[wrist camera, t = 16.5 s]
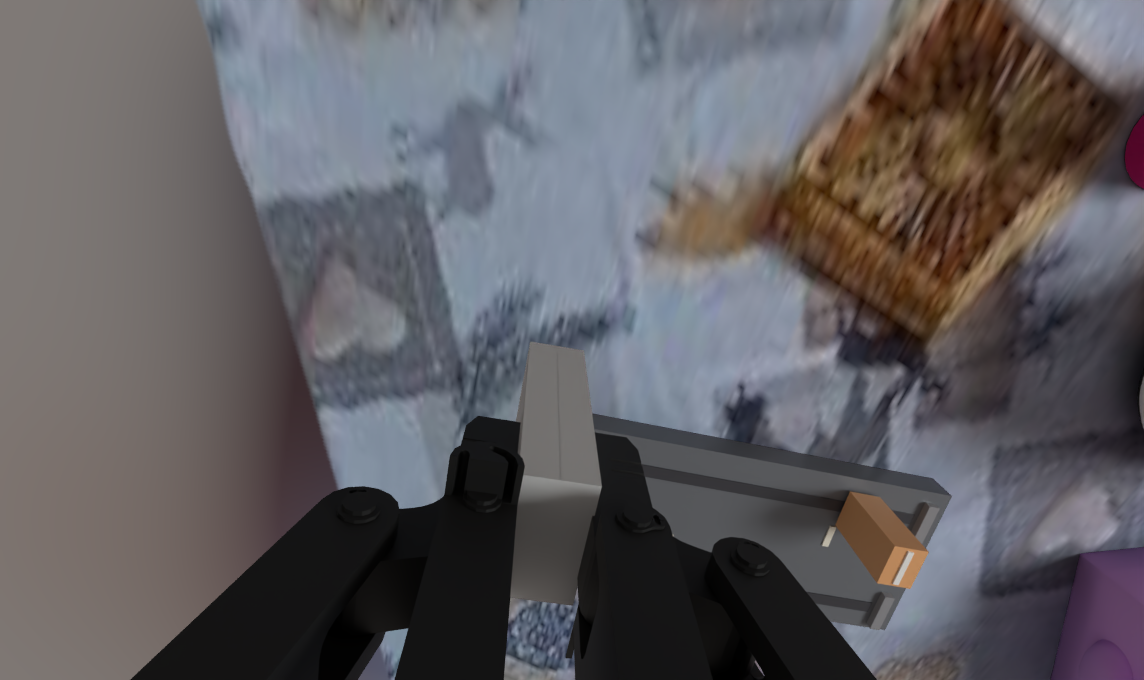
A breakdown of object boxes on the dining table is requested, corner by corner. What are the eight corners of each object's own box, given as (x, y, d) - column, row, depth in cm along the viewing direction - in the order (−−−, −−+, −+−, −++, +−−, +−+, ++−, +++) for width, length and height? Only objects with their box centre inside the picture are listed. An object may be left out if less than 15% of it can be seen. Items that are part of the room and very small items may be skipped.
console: (587, 412, 46) (590, 432, 43) (933, 478, 49) (957, 500, 46) (549, 556, 50) (549, 582, 47) (870, 608, 53) (888, 635, 50)
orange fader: (849, 491, 46) (895, 547, 40) (879, 496, 46) (929, 553, 40) (835, 525, 47) (877, 584, 41) (864, 530, 47) (911, 589, 41)
